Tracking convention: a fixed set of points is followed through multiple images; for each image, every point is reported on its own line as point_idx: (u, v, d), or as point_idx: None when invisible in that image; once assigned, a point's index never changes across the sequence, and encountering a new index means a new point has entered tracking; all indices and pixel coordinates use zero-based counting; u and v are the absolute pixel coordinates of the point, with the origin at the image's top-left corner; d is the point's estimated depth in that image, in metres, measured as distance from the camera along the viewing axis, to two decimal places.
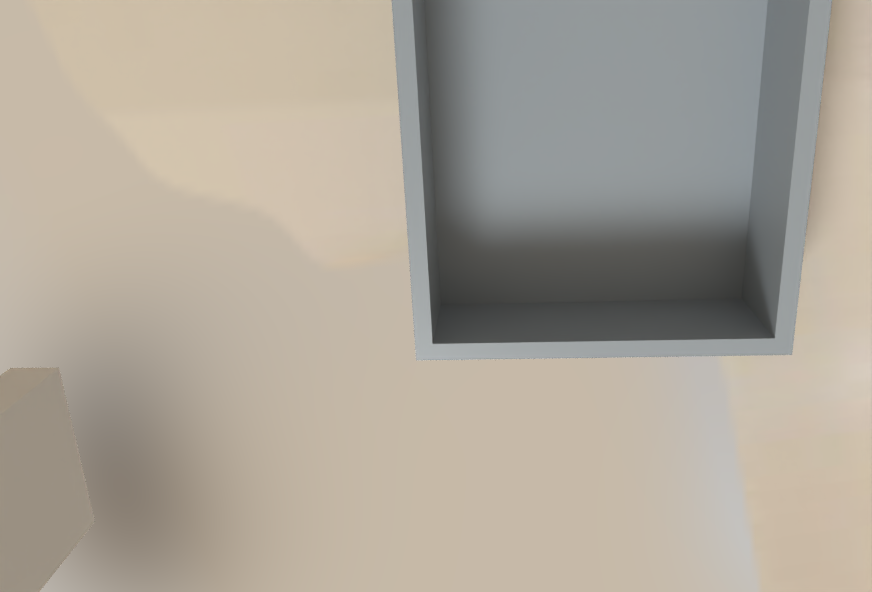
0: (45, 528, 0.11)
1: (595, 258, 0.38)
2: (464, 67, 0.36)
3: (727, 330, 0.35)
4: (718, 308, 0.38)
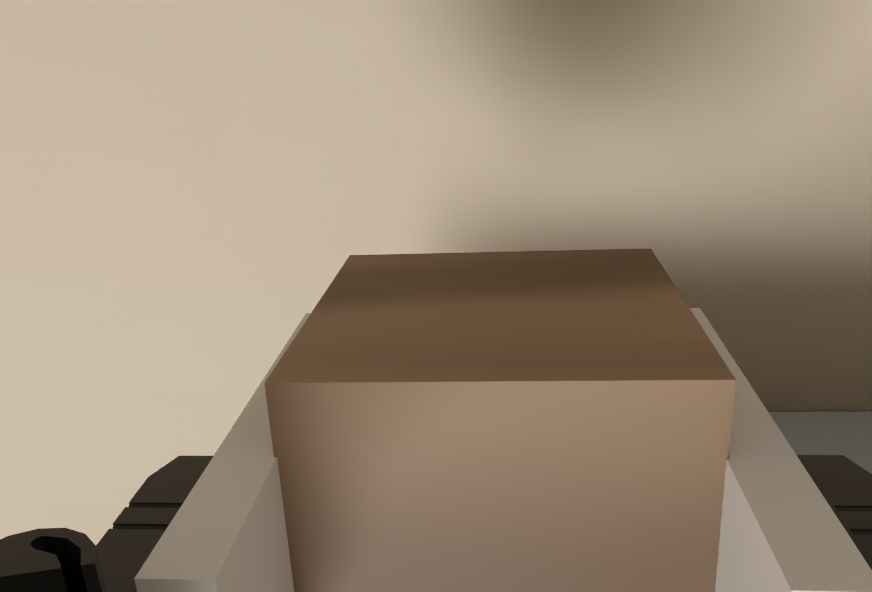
0: None
1: None
2: None
3: None
4: None
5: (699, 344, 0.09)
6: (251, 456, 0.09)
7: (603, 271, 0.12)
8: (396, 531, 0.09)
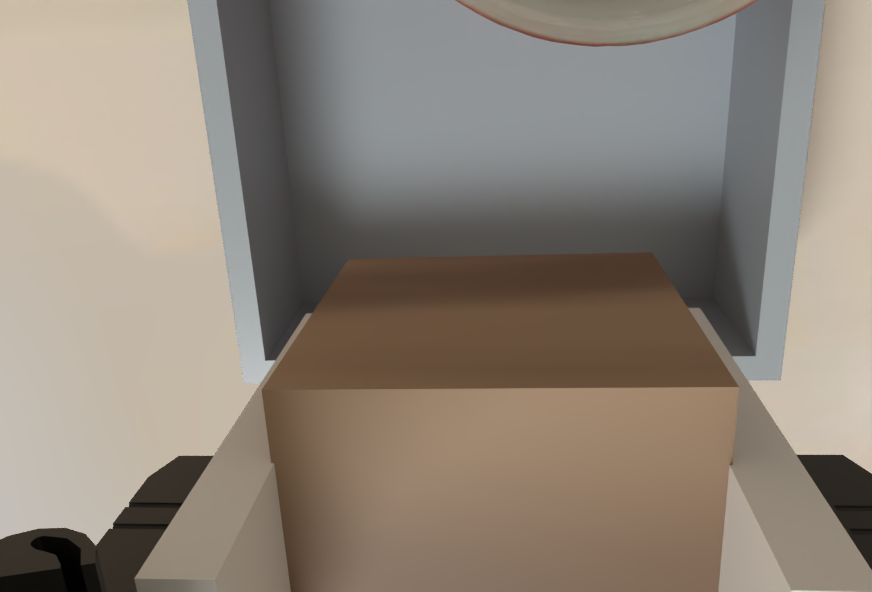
0: None
1: (510, 240, 0.28)
2: None
3: None
4: None
5: (701, 350, 0.09)
6: (251, 456, 0.09)
7: (604, 275, 0.12)
8: (395, 540, 0.09)
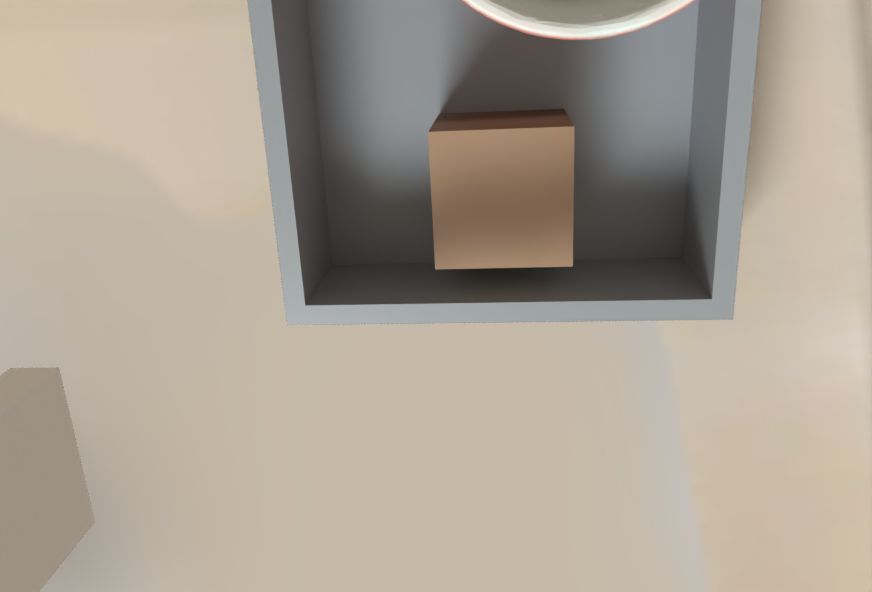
0: (45, 528, 0.11)
1: None
2: None
3: (657, 291, 0.29)
4: (652, 268, 0.32)
5: (567, 122, 0.27)
6: None
7: (542, 113, 0.30)
8: (468, 185, 0.27)
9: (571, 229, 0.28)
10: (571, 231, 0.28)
